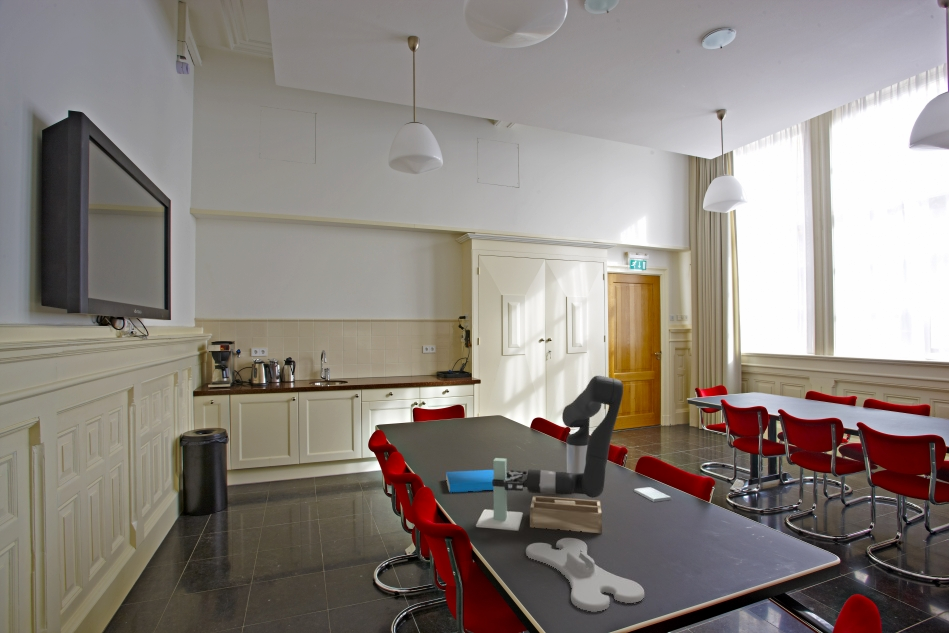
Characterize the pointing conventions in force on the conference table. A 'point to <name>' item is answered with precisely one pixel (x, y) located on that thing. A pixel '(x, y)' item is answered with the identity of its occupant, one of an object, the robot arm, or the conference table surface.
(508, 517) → the mat
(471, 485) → the book
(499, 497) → the pale green bar
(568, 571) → the holder
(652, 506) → the conference table surface
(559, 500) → the upper offcut
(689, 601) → the conference table surface
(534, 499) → the box
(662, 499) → the hard drive
